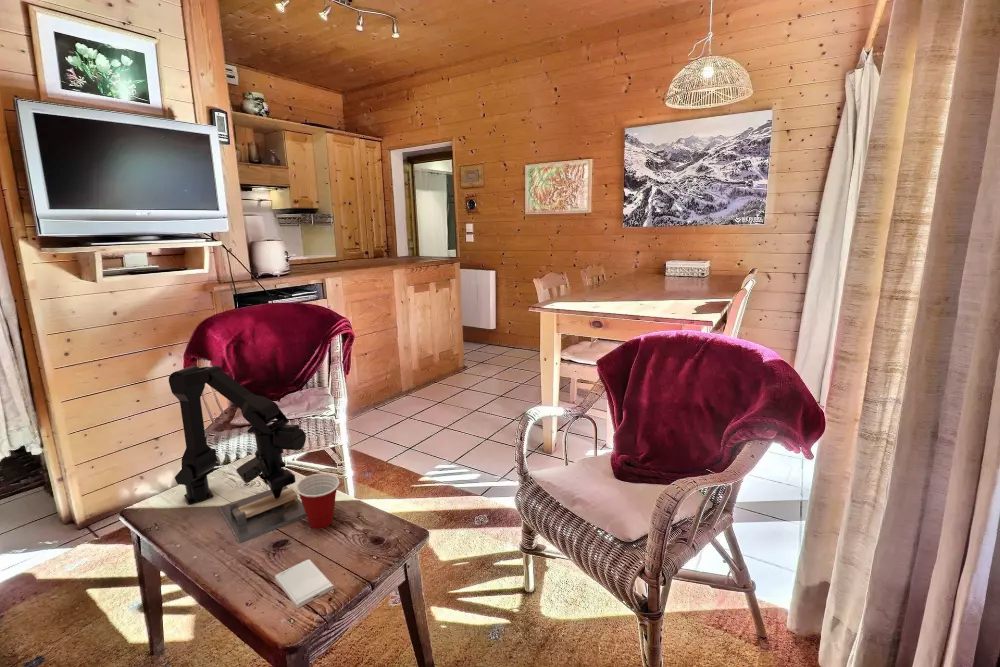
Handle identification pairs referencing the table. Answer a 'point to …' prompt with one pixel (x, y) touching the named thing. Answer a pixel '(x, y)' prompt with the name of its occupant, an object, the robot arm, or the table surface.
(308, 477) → the plastic cup
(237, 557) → the table surface
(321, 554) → the table surface
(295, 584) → the hard drive
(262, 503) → the lever
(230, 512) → the mounting plate
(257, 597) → the table surface
